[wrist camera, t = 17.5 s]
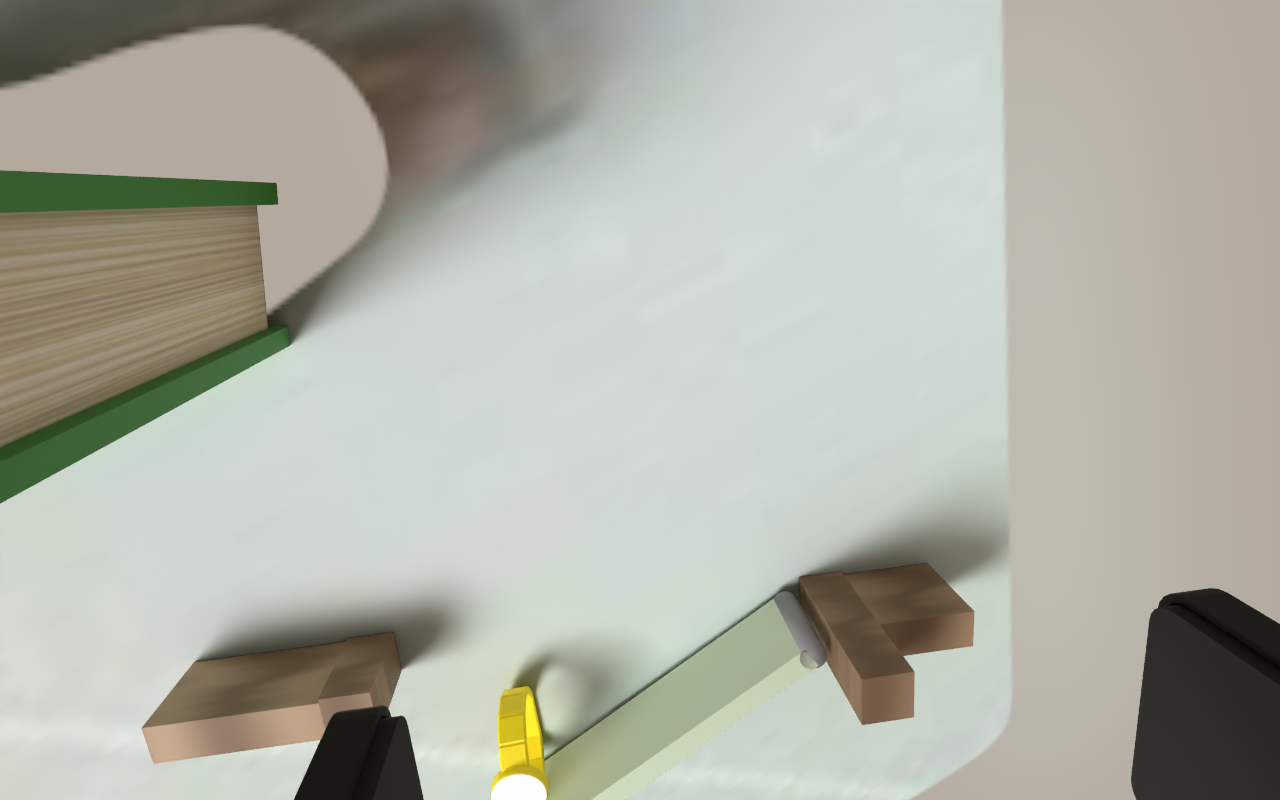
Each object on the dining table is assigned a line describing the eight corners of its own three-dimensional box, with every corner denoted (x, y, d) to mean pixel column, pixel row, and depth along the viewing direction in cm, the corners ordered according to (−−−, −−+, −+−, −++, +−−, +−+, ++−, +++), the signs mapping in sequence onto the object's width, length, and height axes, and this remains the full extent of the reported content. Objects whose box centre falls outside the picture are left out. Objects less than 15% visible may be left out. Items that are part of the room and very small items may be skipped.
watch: (558, 746, 43) (558, 837, 37) (510, 755, 42) (504, 848, 37) (539, 663, 41) (536, 747, 35) (489, 673, 40) (479, 758, 35)
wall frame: (926, 560, 41) (1022, 656, 33) (926, 597, 42) (1019, 701, 33) (193, 658, 39) (85, 792, 30) (204, 697, 39) (103, 838, 31)
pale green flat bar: (787, 586, 40) (817, 639, 36) (811, 617, 41) (844, 672, 36) (483, 802, 42) (473, 880, 38) (511, 828, 43) (505, 907, 38)
